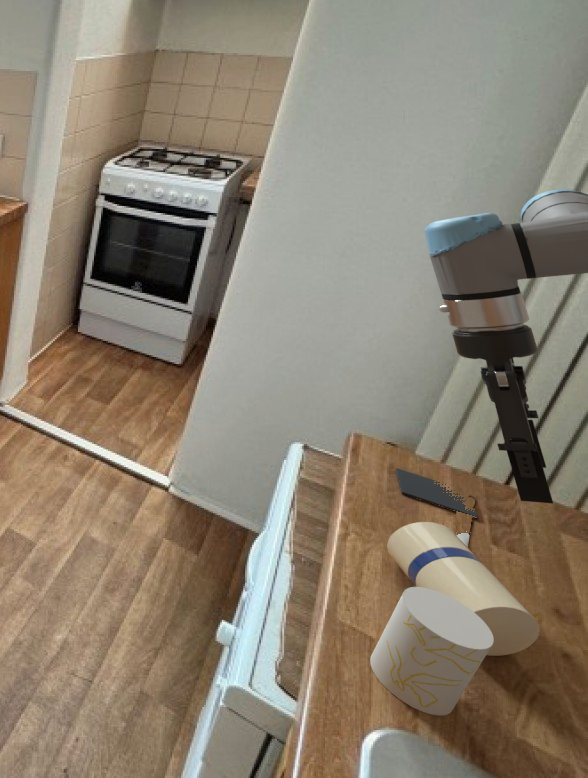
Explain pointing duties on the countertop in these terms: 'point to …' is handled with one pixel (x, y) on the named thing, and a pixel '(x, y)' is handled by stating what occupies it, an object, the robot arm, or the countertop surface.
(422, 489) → the mat
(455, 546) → the blue-striped cream cylinder
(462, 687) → the cup
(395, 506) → the countertop surface
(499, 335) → the robot arm
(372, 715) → the countertop surface
